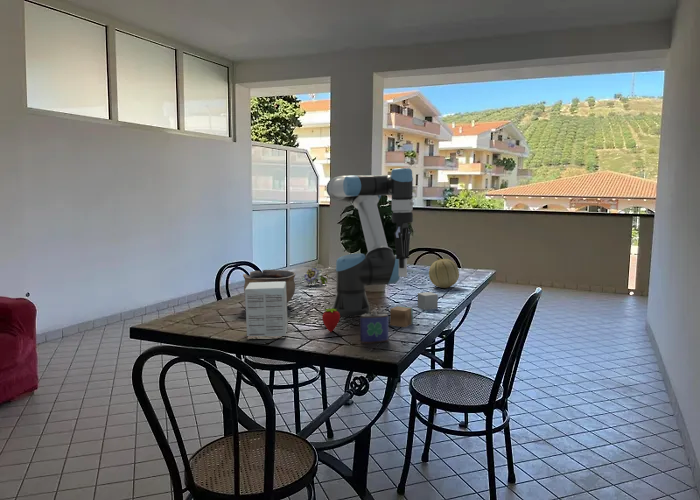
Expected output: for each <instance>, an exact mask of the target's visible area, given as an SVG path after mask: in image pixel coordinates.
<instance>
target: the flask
mask: <svg viewBox="0 0 700 500" xmlns="http://www.w3.org/2000/svg"><path fill="white" fill-rule="evenodd" d="M359 326H360V327H359V329H360V330H359V331H360V336H359V337H360V344H382V343H384V344H385V343H388V342H389V339H390V337H389V334H390V333H389V315H388V314H387V313H377V309H372V311H371V312H370V313H368V314H366V313H365V314H364V315H361V316H359Z"/></svg>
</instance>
